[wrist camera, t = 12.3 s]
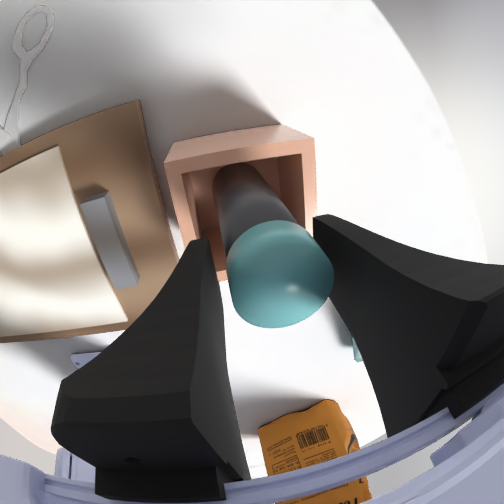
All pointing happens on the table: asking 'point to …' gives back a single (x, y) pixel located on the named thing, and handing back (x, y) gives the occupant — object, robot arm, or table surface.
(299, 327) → the table surface
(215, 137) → the pen cup
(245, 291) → the marker
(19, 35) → the scissors
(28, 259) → the clipboard
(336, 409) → the coffee package
